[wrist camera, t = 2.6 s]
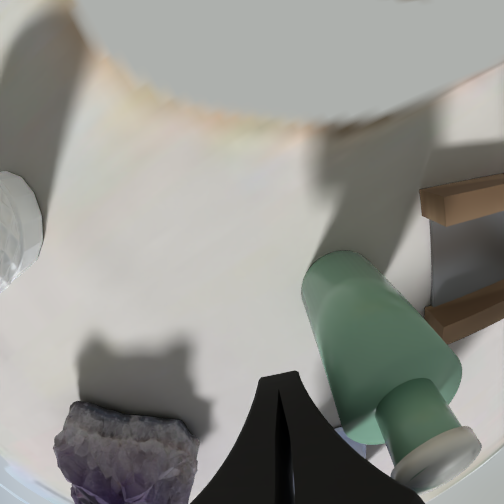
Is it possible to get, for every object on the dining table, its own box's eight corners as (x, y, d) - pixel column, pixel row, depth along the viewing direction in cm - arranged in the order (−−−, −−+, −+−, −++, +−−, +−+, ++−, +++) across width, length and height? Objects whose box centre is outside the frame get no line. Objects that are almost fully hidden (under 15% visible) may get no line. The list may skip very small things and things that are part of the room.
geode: (177, 507, 26) (154, 570, 17) (90, 467, 26) (56, 523, 17) (228, 429, 20) (194, 548, 10) (86, 363, 20) (10, 451, 10)
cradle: (520, 285, 17) (539, 298, 14) (423, 326, 18) (441, 347, 15) (524, 169, 14) (548, 174, 12) (419, 189, 15) (443, 197, 12)
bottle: (378, 311, 17) (481, 472, 6) (308, 330, 17) (360, 523, 6) (372, 242, 16) (527, 388, 4) (294, 261, 16) (366, 465, 5)
